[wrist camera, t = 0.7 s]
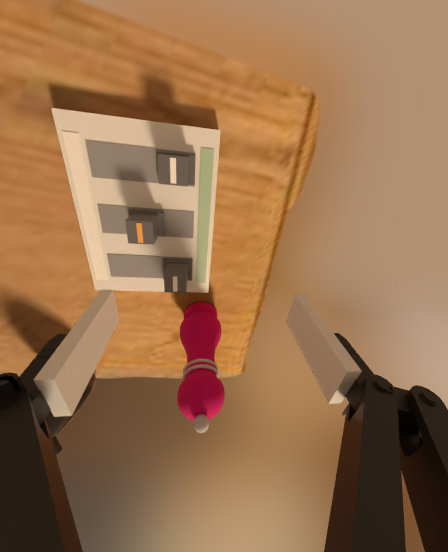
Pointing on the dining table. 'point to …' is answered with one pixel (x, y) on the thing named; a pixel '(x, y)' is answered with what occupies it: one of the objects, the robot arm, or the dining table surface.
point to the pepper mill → (200, 366)
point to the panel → (138, 196)
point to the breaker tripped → (144, 226)
